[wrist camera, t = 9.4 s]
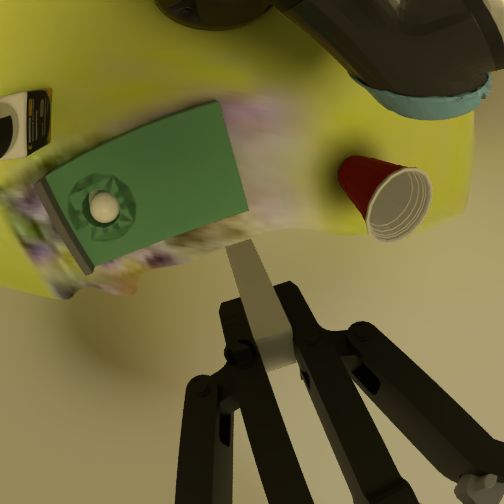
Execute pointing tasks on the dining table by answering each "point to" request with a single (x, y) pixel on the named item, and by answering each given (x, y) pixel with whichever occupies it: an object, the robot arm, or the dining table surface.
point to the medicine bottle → (24, 123)
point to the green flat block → (146, 185)
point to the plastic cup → (386, 196)
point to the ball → (104, 207)
